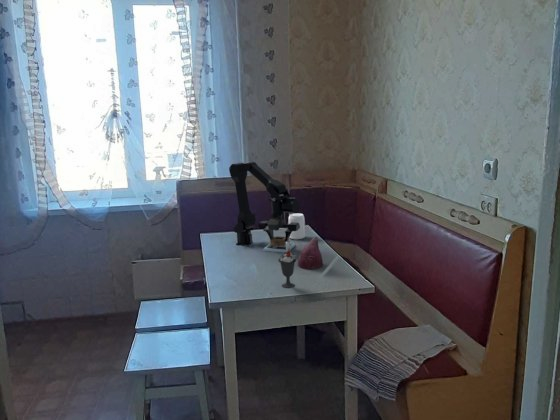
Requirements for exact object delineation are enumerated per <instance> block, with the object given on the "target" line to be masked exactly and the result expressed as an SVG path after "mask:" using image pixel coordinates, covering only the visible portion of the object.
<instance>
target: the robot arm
mask: <svg viewBox="0 0 560 420" xmlns="http://www.w3.org/2000/svg"><path fill="white" fill-rule="evenodd" d="M228 168H229V169H228V170H229V174H230V177H231V179H232V180H233V181H234V185H235V191H236V198H237V204H238V210H239V212H238V215H237V224H235V226H234V227H233V231H234V233H235V234H236V239H237V241H236V243H235V245H239V246H249V245H251V244H252V243H253V242H254V241H253V234H252V231H253V230H254V227H255V225H256V222H257V221H256V220H257V219H256V214H255V213H254V212H253V213H252V211H251V210H250V204H249V198H248V192H247V191H248V190H247V185H246V180H247V178H248V177H247V176H248V172H249V173H250V174H251V175H252V176H254V178H256V179H257V180H258V181H259V182H260V183H261V184H262V185H263V186H264V188H265V190H266V192H267V193H268V194H269V195H270V197H269V198H268V199H267V201H268V202H271V214H270V218H269V220H262V221H260V222H259V223H258V224H257V229H258V230H262V231H263V232H266V233H267V235H268V238H269V240H271V239H272V238H273V237H275V236H274V231H279V230H280V229H286V230H285V231H284V234H285V236H284V237H285V244H286V242H287V241H289V239H290V238H289V237H290V235H291V232H293V231H297V230H298V229H300V224H299V223H297V222H291V223H290V224H289V223H286V222H287V221H286V216H285V215H286V213H289V214H294V213H299V211H300V208H301V205H300V202H299V201H298V199H297V197H292V195H291V194H290V193H289V191H288V189H287V187H286V185H285V184H284V183H283V182H281V181H279V180H277V179H274V178H273V177H271V176H270V175H269V174H268V173H267V172H266V171H265V170H264V169H262V168H261V167H260V166H259V165H258V163H256V162H255V161H248V162H246V163H245V162H237V163H232V164H231V165H230V166H229V167H228Z"/></svg>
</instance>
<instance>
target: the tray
mask: <svg viewBox="0 0 560 420" xmlns="http://www.w3.org/2000/svg"><path fill="white" fill-rule="evenodd" d="M271 247H272V246H271V245H270V243H269V244H268V245H266V246H264V247H263V251H264V252H275V253H285V252H286V248H271ZM284 247H286V245H285V246H284ZM294 247H296V243H295V242H290V251H291V250H292V249H293V248H294Z"/></svg>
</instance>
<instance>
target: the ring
mask: <svg viewBox="0 0 560 420" xmlns="http://www.w3.org/2000/svg"><path fill="white" fill-rule="evenodd" d="M269 240H270V239H269ZM269 242H270V243H269V244H270V245H271V247H274V248H279V247H281V248H283V247H286V246H285V245H286V244H285V236H279V235H277V236H276V235H275V236H274V237H273V238H272V239H271V240H270V241H269Z"/></svg>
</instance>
